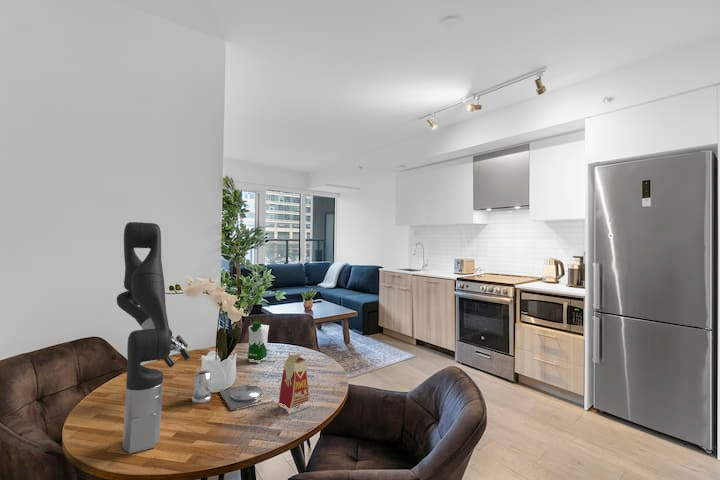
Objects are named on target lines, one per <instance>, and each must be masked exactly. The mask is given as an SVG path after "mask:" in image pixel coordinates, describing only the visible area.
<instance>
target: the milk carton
mask: <svg viewBox="0 0 720 480" xmlns="http://www.w3.org/2000/svg"><path fill="white" fill-rule="evenodd" d="M287 355H288V357H287V359H286V360H285V362H284V366H283V370H282V377H281V382H280V388H279V396H278V404H279V403H282V404H285V405H286V406H287V407H288V408H290V409H291V408H293V407H296V406H298V405H300V404H303V403H305V402H308V401H310V402H311V398H310V397H311V396H310V389H309V388H310V387H309V378H308V368H307V359H304V358H303V357H301V355H302V354H301V353H298V354H297V353H296V354H292V353H287Z"/></svg>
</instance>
